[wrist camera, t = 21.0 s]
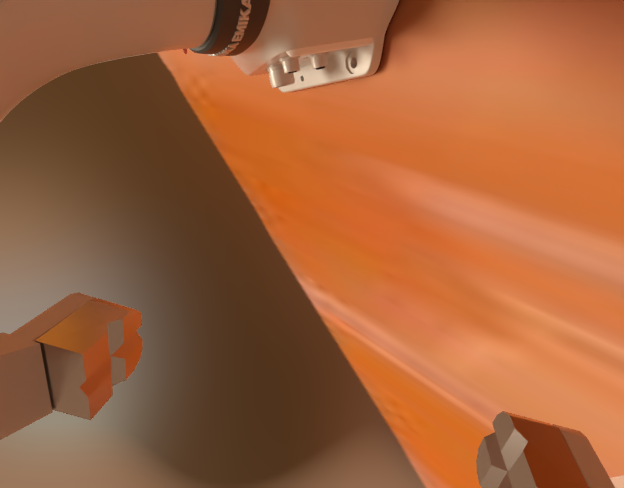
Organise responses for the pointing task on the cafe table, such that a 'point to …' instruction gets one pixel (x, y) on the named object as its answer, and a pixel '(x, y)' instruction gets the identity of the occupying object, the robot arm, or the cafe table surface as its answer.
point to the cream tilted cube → (618, 481)
